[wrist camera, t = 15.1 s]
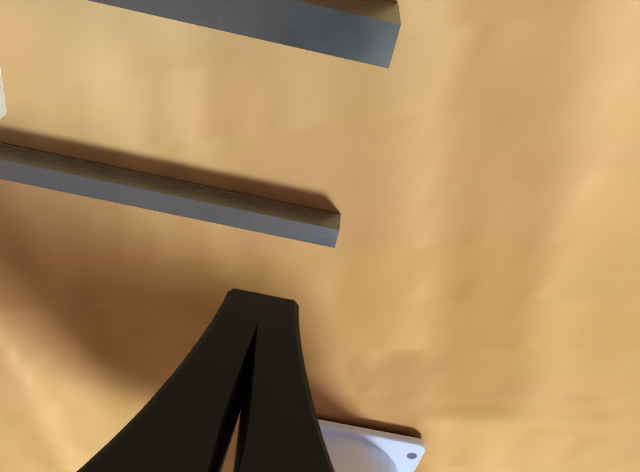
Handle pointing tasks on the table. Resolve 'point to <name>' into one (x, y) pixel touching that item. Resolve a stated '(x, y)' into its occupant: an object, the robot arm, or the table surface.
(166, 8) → the rail
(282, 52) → the table surface
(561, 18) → the table surface
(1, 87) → the block
